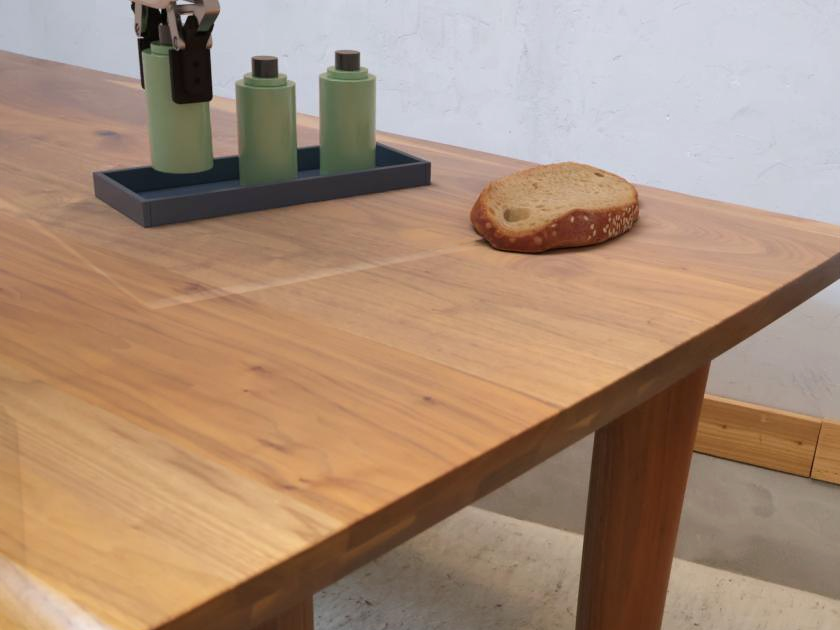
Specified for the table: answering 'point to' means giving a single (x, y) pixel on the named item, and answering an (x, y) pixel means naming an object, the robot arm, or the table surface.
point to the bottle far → (347, 116)
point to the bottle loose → (173, 116)
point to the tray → (248, 187)
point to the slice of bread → (555, 208)
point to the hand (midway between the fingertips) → (176, 93)
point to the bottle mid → (266, 124)
